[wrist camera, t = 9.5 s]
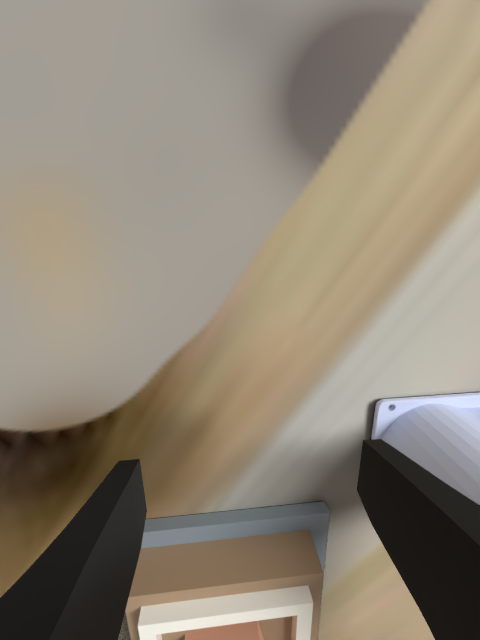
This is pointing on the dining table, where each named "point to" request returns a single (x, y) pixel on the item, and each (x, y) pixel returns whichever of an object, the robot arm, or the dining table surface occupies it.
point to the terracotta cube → (228, 632)
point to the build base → (231, 573)
